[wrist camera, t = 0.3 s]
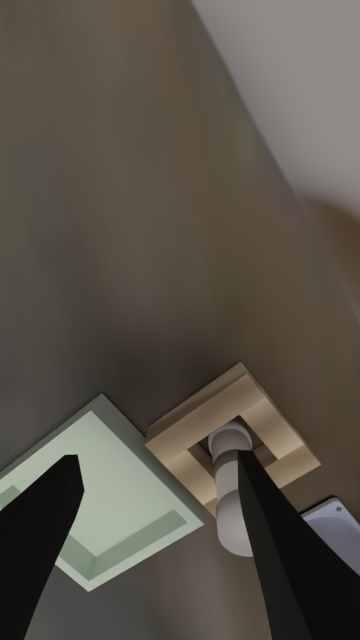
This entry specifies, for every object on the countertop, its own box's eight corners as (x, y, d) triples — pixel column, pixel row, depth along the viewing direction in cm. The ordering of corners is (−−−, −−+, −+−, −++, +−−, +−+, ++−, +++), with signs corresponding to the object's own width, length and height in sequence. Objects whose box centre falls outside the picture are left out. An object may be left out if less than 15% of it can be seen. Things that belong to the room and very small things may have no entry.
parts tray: (202, 497, 23) (204, 524, 21) (98, 560, 26) (88, 591, 23) (102, 393, 21) (90, 410, 19) (-2, 473, 24) (-24, 498, 21)
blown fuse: (256, 438, 22) (294, 538, 14) (223, 459, 22) (242, 565, 14) (232, 410, 21) (257, 497, 13) (199, 432, 22) (205, 528, 14)
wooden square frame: (307, 444, 22) (321, 464, 19) (217, 498, 23) (220, 522, 21) (240, 361, 20) (246, 373, 18) (148, 426, 22) (144, 444, 20)
